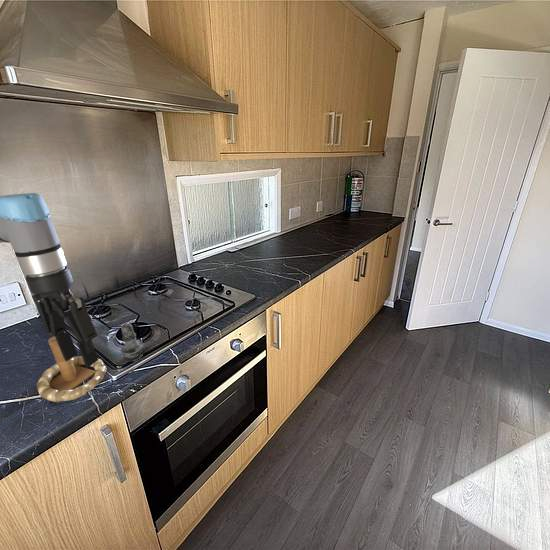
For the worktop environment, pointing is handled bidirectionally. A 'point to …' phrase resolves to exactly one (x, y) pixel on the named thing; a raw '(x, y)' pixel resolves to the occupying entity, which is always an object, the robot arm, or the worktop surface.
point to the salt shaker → (131, 343)
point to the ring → (68, 395)
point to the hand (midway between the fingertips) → (81, 360)
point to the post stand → (67, 370)
